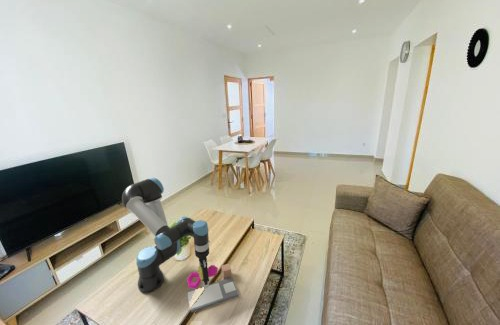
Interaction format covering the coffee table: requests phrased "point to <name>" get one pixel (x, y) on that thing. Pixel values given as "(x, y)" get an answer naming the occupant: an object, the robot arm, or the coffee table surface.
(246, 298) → the coffee table surface
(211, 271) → the toy
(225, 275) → the terracotta block
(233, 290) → the foundation slab
